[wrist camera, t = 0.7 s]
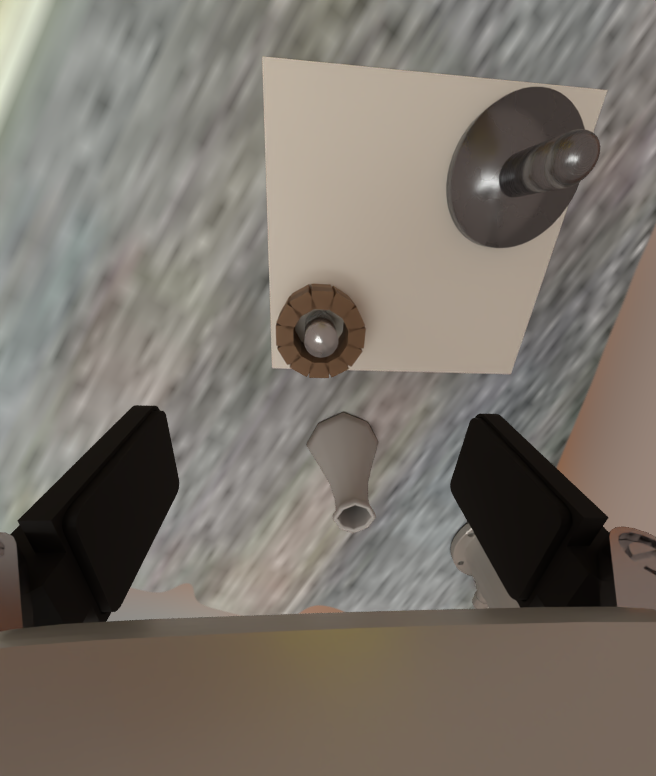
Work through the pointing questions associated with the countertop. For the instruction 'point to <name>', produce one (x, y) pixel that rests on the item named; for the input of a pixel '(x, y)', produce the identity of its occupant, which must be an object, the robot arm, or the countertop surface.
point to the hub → (518, 167)
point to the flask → (346, 467)
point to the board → (393, 214)
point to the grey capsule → (320, 334)
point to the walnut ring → (347, 342)
